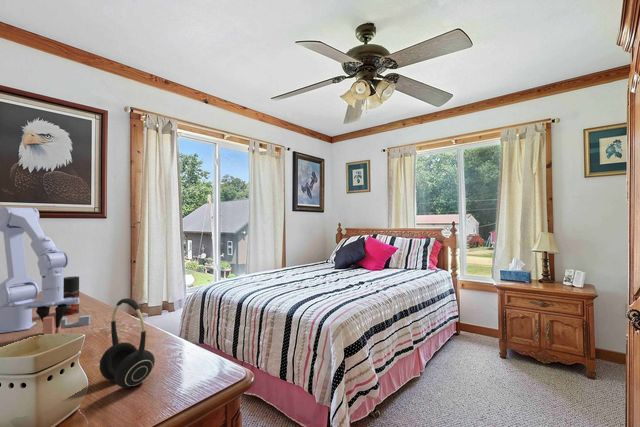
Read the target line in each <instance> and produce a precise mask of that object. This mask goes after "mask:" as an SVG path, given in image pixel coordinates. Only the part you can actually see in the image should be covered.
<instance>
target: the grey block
mask: <svg viewBox="0 0 640 427" xmlns="http://www.w3.org/2000/svg"><path fill="white" fill-rule="evenodd" d="M90 323H91V315H90V314H87V315H80V316H79V317H78V321H72V322H68V317H62V320H61V329H65V328H72V327H81V326H88V325H89V326H90Z"/></svg>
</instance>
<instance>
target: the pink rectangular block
mask: <svg viewBox="0 0 640 427" xmlns="http://www.w3.org/2000/svg"><path fill="white" fill-rule="evenodd" d="M61 330H62V328H61V324H60V327H59V328H56V311H55V310H52V311H50V312H49V314H48V315H47V316H46V317H45V318H43V322H42V335H43V334H54V333H55V334H57V333H60V331H61Z"/></svg>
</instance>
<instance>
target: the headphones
mask: <svg viewBox="0 0 640 427" xmlns="http://www.w3.org/2000/svg"><path fill="white" fill-rule="evenodd" d="M122 304H127V305H129V306H130V307H131V308H132V309H133V310H134V311H136V313H137V315H138V318H139V320H140V325H141V331H140V341H139V346H138V349H137V347H136V346H135V345H134V344H131V343H129V342H126V341H125V342H119V336H118V332H117V323H116V322H117V321H116V314H117V311H118V309H119V307H120V306H121V305H122ZM115 305H116V306H115V307H114V309H113V312H112V315H111V321H110V322H111V323H110V326H111V327H110V328H111V329H110V332H111V342H112V343H111V344H112V345H111V346H109V348H108V349H106V350H105V351H104V353H103V354H102V356H101V358H100V360H99V372H100V374H101V375H102V377H103V378H104V379H106V380H107V381H110V382H115V383H116V384H115V385H117V386H119V387H120V388H123V389H127V388H126V387H129V388H132V387H131V386H133V387H135V386H137V385H140V384H141V383H143V382H144V381H145V380H146V379H147V378H149V376H150V374H151V372H152V371H153V369H154V366H155V361H156V359H155V356H154V354H153V353H152V352H151V351H150V350H147V349H146V341H147V340H146V338H147V334H146V333H147V332H146V326H145V320H144V317H143V315H142V313H141V311H140V307H139V306H140V305H139V304H138V303H137V302H136V301H135V300H134V299H133V298H123V299H120V300H119V301H117V302H116V304H115Z"/></svg>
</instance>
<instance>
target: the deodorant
mask: <svg viewBox="0 0 640 427" xmlns="http://www.w3.org/2000/svg"><path fill="white" fill-rule="evenodd" d="M63 298H79V299H80V276H66V277H65V276H64V286H63ZM79 312H80V303H79V304H71V305H68V307H67V308H66V310H65V312H64V314H63V317H64V316H72V315H76V314H79Z"/></svg>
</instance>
